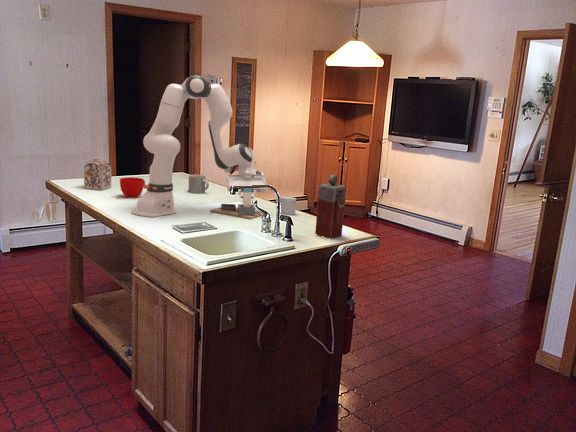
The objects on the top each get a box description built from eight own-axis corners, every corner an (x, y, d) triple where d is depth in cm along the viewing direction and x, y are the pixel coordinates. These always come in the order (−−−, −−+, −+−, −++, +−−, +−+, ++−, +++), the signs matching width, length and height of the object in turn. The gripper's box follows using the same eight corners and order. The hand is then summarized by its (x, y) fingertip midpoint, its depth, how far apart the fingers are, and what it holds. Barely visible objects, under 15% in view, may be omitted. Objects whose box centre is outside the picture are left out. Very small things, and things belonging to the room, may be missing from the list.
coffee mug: (185, 191, 321) (185, 175, 318) (197, 190, 328) (197, 174, 326) (199, 195, 313) (200, 178, 310) (212, 193, 320) (212, 177, 318)
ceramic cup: (153, 195, 302) (153, 178, 299) (133, 200, 286) (133, 182, 284) (135, 192, 307) (135, 175, 304) (114, 196, 292) (114, 179, 289)
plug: (250, 209, 266) (251, 188, 264) (242, 209, 266) (243, 188, 263) (250, 208, 270) (251, 187, 268) (242, 207, 269) (243, 186, 267)
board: (250, 219, 261) (250, 217, 260) (210, 212, 271) (210, 210, 271) (263, 214, 273) (264, 212, 273) (225, 207, 283) (225, 206, 283)
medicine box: (295, 214, 280) (296, 198, 278) (293, 215, 276) (294, 199, 274) (281, 212, 282) (282, 196, 280) (278, 213, 278) (279, 197, 276)
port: (254, 215, 265) (255, 208, 264) (238, 215, 264) (239, 207, 263) (253, 212, 273) (253, 204, 272) (237, 211, 271) (238, 204, 271)
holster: (235, 211, 273) (235, 207, 272) (221, 210, 272) (221, 206, 271) (235, 207, 280) (235, 204, 279) (221, 207, 279) (221, 203, 278)
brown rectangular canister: (335, 240, 233) (340, 177, 227) (314, 234, 240) (319, 174, 234) (346, 236, 240) (351, 176, 234) (326, 231, 247) (331, 172, 241)
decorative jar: (102, 190, 306) (101, 160, 302) (83, 189, 307) (83, 158, 304) (112, 187, 317) (111, 158, 313) (94, 185, 319) (93, 156, 315)
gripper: (227, 171, 269) (226, 193, 262) (266, 172, 272) (267, 195, 265) (226, 178, 274) (226, 200, 267) (265, 179, 277) (266, 201, 270)
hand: (247, 197), depth 266 cm, fingers closed on plug, 4 cm apart
